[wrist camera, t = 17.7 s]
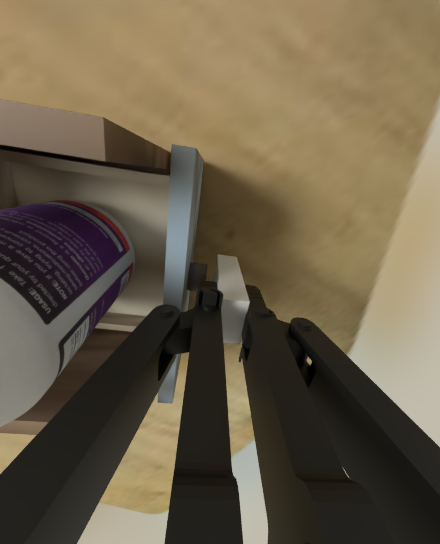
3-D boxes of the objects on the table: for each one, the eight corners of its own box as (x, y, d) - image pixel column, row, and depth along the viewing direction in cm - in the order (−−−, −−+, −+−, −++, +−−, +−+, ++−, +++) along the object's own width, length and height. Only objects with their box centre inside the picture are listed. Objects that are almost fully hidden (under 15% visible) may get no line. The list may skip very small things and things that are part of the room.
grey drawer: (12, 128, 16) (-184, 82, 8) (219, 163, 17) (225, 153, 9) (47, 312, 22) (-43, 388, 14) (197, 327, 23) (189, 404, 15)
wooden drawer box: (-32, 118, 15) (-486, 12, 5) (169, 151, 17) (102, 117, 7) (17, 309, 22) (-150, 424, 12) (160, 323, 23) (119, 439, 13)
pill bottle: (16, 200, 16) (-905, 322, 3) (127, 194, 16) (-269, 285, 3) (55, 297, 19) (-286, 563, 6) (147, 291, 19) (7, 543, 6)
